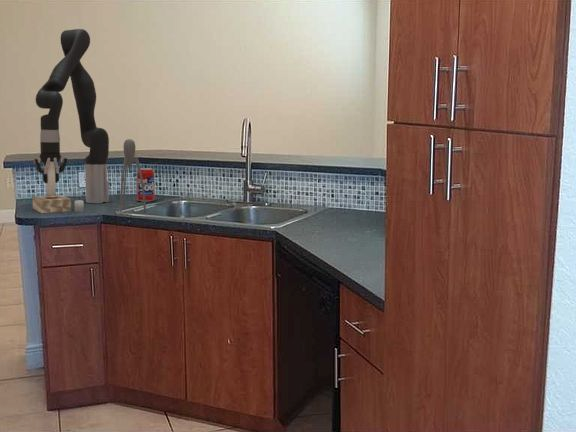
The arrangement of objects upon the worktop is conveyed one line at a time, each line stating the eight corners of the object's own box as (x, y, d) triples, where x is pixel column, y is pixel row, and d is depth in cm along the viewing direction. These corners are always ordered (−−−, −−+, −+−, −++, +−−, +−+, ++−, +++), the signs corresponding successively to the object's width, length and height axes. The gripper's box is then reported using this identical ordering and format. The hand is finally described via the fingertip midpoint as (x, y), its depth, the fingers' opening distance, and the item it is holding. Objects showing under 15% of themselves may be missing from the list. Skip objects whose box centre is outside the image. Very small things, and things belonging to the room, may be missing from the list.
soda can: (147, 199, 333) (147, 167, 331) (157, 201, 328) (157, 168, 325) (133, 200, 328) (133, 168, 325) (143, 203, 322) (143, 169, 320)
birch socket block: (61, 207, 304) (61, 195, 304) (71, 211, 295) (70, 199, 294) (32, 208, 297) (32, 197, 297) (41, 213, 288) (41, 200, 287)
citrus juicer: (146, 211, 300) (145, 139, 295) (131, 214, 291) (130, 140, 286) (124, 208, 304) (123, 138, 299) (108, 212, 295) (108, 139, 290)
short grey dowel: (81, 210, 297) (81, 200, 296) (85, 212, 294) (84, 201, 293) (73, 211, 295) (73, 200, 294) (76, 212, 292) (76, 201, 291)
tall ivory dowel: (54, 194, 298) (53, 160, 295) (56, 195, 295) (56, 161, 292) (45, 194, 295) (44, 161, 293) (48, 196, 293) (47, 161, 290)
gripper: (64, 140, 299) (65, 181, 301) (29, 140, 290) (30, 182, 293) (70, 141, 293) (71, 183, 295) (35, 141, 284) (36, 184, 287)
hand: (50, 182), depth 294 cm, fingers closed on tall ivory dowel, 3 cm apart
